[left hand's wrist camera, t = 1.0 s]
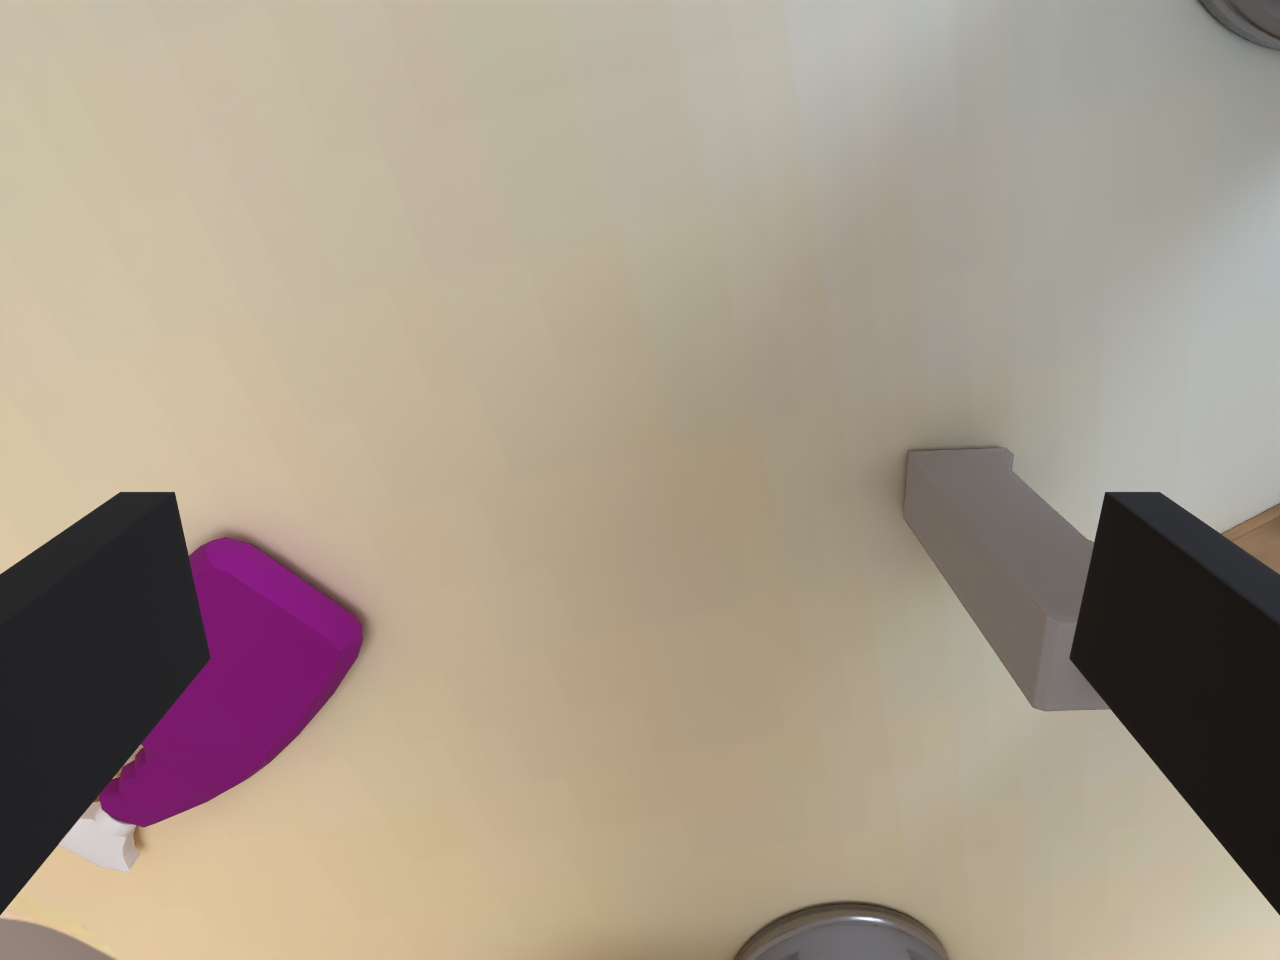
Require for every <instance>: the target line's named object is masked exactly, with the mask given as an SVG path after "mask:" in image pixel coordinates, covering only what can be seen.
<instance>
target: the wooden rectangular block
mask: <svg viewBox="0 0 1280 960" xmlns="http://www.w3.org/2000/svg"><path fill="white" fill-rule="evenodd" d="M1221 535H1223V536H1224V537H1226V538H1227V539H1229V540H1230V541H1232V542H1233V543H1235V544H1236V545H1237V546H1239V547H1240V548H1242V549H1243V550H1245V551H1246V552H1248V553H1249V554H1251V555H1252V556H1254V557H1255V558H1256V559H1258V560H1259V561H1261V562H1262V563H1264V564H1265V565H1267V566H1268V567H1270V568H1271V569H1272V570H1274V571H1275V572H1277V573H1278V574H1280V504H1279V505H1277V506H1275V507H1273V508H1271V509H1269V510H1267V511H1265V512H1263V513H1261V514H1259V515H1258V516H1256V517H1254V518H1252V519H1250V520H1248V521H1246V522H1244V523H1242V524H1240V525H1238V526H1237V527H1235V528H1233V529H1231V530H1229V531H1227V532H1225V533H1223V534H1221Z"/></svg>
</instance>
